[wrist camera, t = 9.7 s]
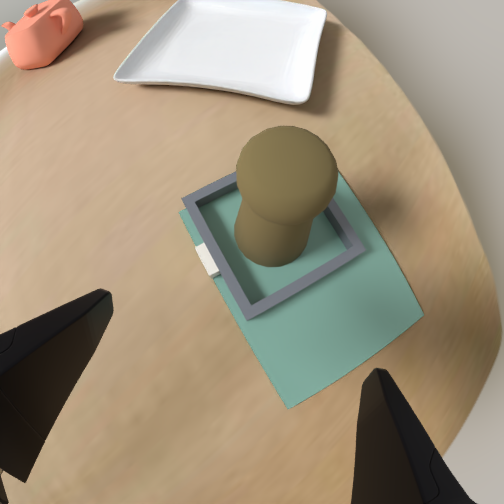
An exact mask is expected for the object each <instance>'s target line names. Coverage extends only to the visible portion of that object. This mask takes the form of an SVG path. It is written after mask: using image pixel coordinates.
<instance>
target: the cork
mask: <svg viewBox="0 0 504 504" xmlns="http://www.w3.org/2000/svg"><path fill="white" fill-rule="evenodd" d="M236 178H237V186H238V189H239V191H240V194H241V197H242V202H241V205H240V208H239V211H238V215H237V218H236V221H235V224H234V237H235V240H236V243H237V245H238V248H239V249H240V251H241V252H242V253H243V254H244V256H245V257H246V258H248V259H249V260H251V261H252V262H254V263H255V264H258V265H261V266H265V267H281V266H284V265H287V264H289V263H292V262H293V261H294V260H295V259H297V258H298V257H299V256H300V255H301V254H302V252H303V251H304V249H305V247H306V246H307V242H308V238H309V234H310V230H311V226H312V222H313V219H314V218H315V217H316V216H317V215H319V214H320V213H321V212H323V211H324V210H325V209H326V208H327V206H328V205H329V203H330V201H331V200H332V198H333V196H334V195H335V193H336V188H337V182H338V169H337V163H336V160H335V158H334V156H333V154H332V153H331V151H330V149H329V147H328V146H327V145H326V144H325V143H324V142H323V141H322V140H321V139H320V138H319V137H318V136H316V135H315V134H313V133H311V132H309V131H308V130H306V129H302V128H298V127H295V126H277V127H273V128H269V129H266V130H264V131H262V132H261V133H259V134H257V135H256V136H254V137H252V138H251V139H250V140H249V142H248V143H247V144H246V145H245V146H244V148H243V149H242V151H241V154H240V157H239V159H238V162H237V165H236Z"/></svg>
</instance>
